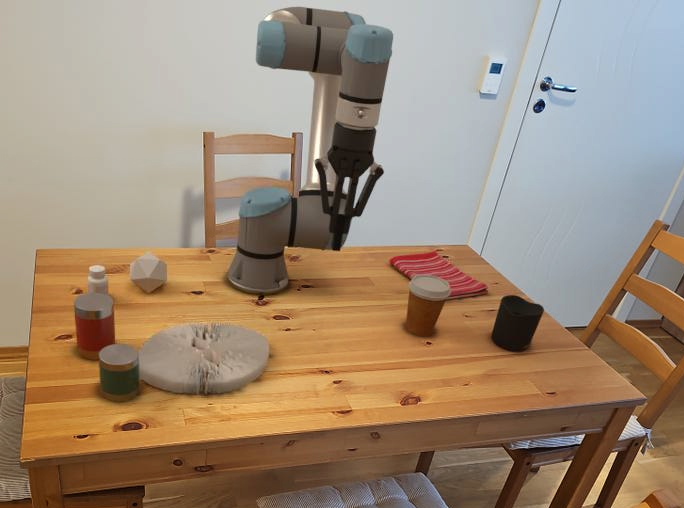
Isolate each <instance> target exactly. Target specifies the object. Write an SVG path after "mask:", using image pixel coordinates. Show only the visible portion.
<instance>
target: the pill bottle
mask: <svg viewBox="0 0 684 508" xmlns="http://www.w3.org/2000/svg"><path fill="white" fill-rule="evenodd" d="M87 293H103V294H106V295H109V293H110V292H109V278H108V276H107V275H106V267H105V266H103V265H101V264H100V265H99V264H95V265H91V266H89V268H88V277H87ZM109 296H110V295H109Z"/></svg>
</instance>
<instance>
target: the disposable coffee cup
mask: <svg viewBox="0 0 684 508" xmlns="http://www.w3.org/2000/svg"><path fill="white" fill-rule="evenodd" d="M407 284H408V290H409V291H408V298H407V299H408V300H407V301H408V302H407V309H406V321H405V328H406V330H407V331H408V332H409V333H411V334H413V335H416V336H421V337H422V336H423V337H424V336H425V337H426V336H430V335H432V334H433V331H434V329H435V327H436V324H437V322H438V320H439V317H440V316H441V313H442V310H443V308H444V306H445V303H446V301H447V300H448V299H447V298H448V296H449V295H450V293H451V291H450V285H449V284H448V282H446V281H445V280H443V279H441V278H439V277H436V276H431V275H416V276H414V277H413V278H412V280H411V279H410V281H409V282H408V283H407ZM446 299H447V300H446Z"/></svg>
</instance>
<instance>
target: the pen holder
mask: <svg viewBox="0 0 684 508" xmlns="http://www.w3.org/2000/svg"><path fill="white" fill-rule="evenodd" d="M544 311H545V308H544V307H543V305H542V304H540V303H534V302H530V301H529V300H526V299H524V298H523V297H521V296H519V295H514V294H509V295H504V296H503V297H501V299H500V303H499V307H498V310H497V313H496V317H495V321H494V324H493V328H492V332H491V336H490V338H491V341H492V342H493V343H494V344H495V345H496V346H497V347H499V348H500V349H503V350H506V351H509V352H514V353H515V352H517V353H518V352H524V351H526V350H528V349H529V347H530V345H531V342H532V340H533V338H534V336H535V334H536V331H537V328H538V326H539V324H540V321H541V320H542V316H543V315H544Z"/></svg>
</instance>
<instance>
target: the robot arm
mask: <svg viewBox="0 0 684 508" xmlns="http://www.w3.org/2000/svg"><path fill="white" fill-rule="evenodd" d="M256 33H257V34H256V46H255V47H256V48H255V62H256V64H257V65H258V66H260V67H263V68H264V67H265V68H269V69H272V70H277V69H278V70H288V71H299V72H308V75H309V76H310V77H311V78H312V79H313V94H312V104H311V105H312V106H311V117H310V129H309V130H310V131H309V141H308V142H309V144H308V153H307V155H308V156H307V165H306V167H307V168H306V169H307V170H306V179H305V184H304V185H303V186H302V187H301V188H300V189H299V190H298V197H292V194H291V192H290V191H289V189H286V188H283V187H279V186H260V187H255V188H252V189H249V190H247V191H246V192H244V194H243V195H242V196H241V198H240V204H239V210H238V216H239V218H238V231H237V242H236V250H235V253H234V255H233V258H232V260H231V262H230V265H229V268H228V271H227V279H226V280H227V282H228V285H230V286H231V287H233V288H234V289H235V290H238V291H240V292H242V293H245V294H250V295H258V296H269V295H275V294H278V293H281V292H283V291H284V290H286V289H287V287H288V285H289V273H288V269H287V264H286V259H285V247H288V248H289V247H290V248H298V249H311V250H320V251H334V252H341V249H342V248H343V246H344V245H345V243H346V242H347V238H348V237H349V236H348V235H349V232H350V229H351V225H352V220H353V218H356V217H357V218H361V216H362V215H363V212H364V211H365V209H366V206H367V203H368V202H369V200H370V197H371V195H372V193H373V191H374V189H375V186H376V184H377V181H379V180H380V178H381V177H382V176H383V175H384V173H385V170H384V168H383V166H382V165H381V164H378V163H377V162H376V161H375V157H374V147H375V142H376V137H377V132H378V131H377V129H376V127H377V126H378V125H379V120H380V115H381V114H380V113H381V108H382V102H383V96H384V93H385V86H386V81H387V76H388V71H389V65H390V62H391V58H392V55H393V42H394V41H393V40H394V33H393V31H392V30H391V29H390V28H388V27H383V26H380V25H374V24H367V23H366V20H365V18H364V17H363V16H362V15H361V14H357V13H353V12H352V13H351V12H348V11H346V10H343V11H340V10H339V11H338V10H331V9H330V10H329V9H321V8H315V7H314V8H313V7H306V6H289V7H284V8H280V9H277V10H273V11H272V12H271V13H269V14H267V15H266V16H265V18H264V19H263V20H261V21H259V22H258V24H257V32H256ZM367 171H368V176H367V178H366V180H365V183H364V184H363V187H362V189H361V192H360V194H359V196H358V199H357V201H356V203H355V200H356V196H357V189H358V185H359V180H360V178H361V176H363V175H364V174H365V172H367ZM346 178H349V180H348V187H347V191H346V190H345V189H344V184H345V180H346Z"/></svg>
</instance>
